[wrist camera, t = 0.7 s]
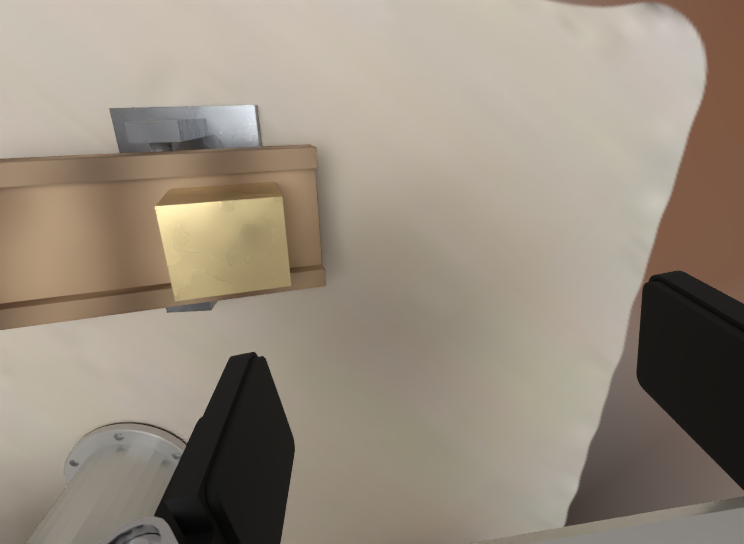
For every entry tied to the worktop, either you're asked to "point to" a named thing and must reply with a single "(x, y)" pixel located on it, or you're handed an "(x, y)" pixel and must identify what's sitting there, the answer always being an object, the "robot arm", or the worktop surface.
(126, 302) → the board
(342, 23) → the worktop surface
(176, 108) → the pivot stand
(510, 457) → the worktop surface
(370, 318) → the worktop surface
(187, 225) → the block
